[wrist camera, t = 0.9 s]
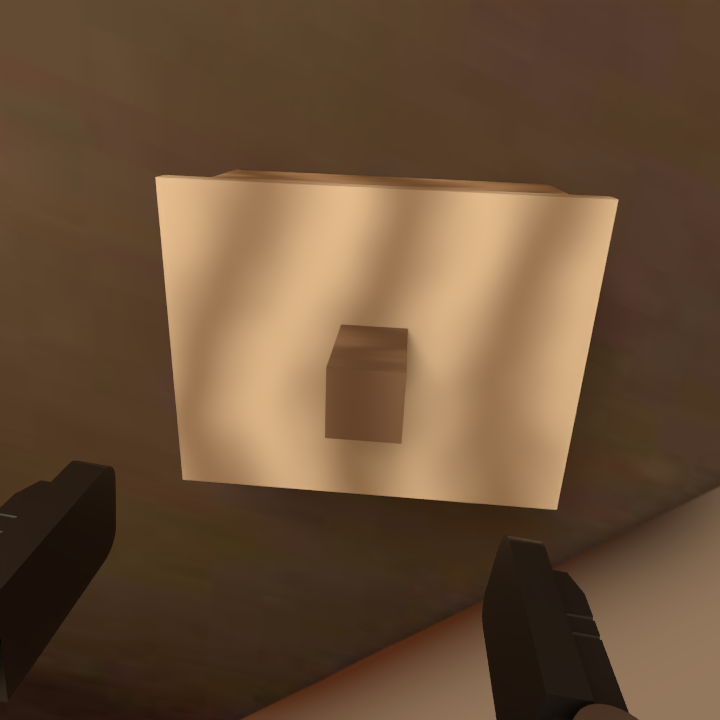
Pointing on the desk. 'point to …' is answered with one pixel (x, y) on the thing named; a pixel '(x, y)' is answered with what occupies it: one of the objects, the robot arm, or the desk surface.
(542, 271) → the lid
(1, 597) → the robot arm
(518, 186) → the box
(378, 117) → the desk surface
